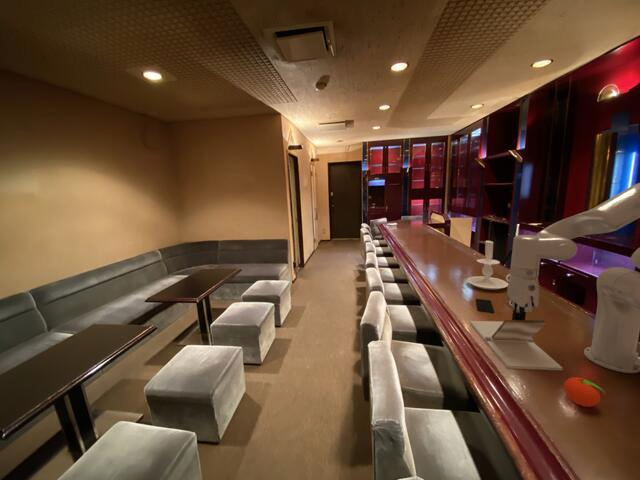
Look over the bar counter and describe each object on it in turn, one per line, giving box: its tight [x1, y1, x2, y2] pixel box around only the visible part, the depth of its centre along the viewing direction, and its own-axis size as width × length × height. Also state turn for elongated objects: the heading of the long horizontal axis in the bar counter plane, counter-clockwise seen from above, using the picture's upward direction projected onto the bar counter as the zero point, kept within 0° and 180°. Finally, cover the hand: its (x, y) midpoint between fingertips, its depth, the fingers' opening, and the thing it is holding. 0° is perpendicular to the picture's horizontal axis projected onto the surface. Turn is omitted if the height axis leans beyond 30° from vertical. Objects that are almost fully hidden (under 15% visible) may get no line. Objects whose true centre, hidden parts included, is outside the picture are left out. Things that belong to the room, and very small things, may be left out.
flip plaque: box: [492, 319, 547, 341], centre depth 94 cm, size 14×12×1 cm
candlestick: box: [466, 240, 510, 291], centre depth 151 cm, size 21×25×28 cm
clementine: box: [563, 376, 607, 408], centre depth 70 cm, size 8×7×7 cm
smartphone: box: [475, 298, 495, 314], centre depth 130 cm, size 7×1×15 cm
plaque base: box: [469, 320, 563, 372], centre depth 99 cm, size 30×16×2 cm, turn 172°
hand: (518, 321), depth 91 cm, fingers closed
